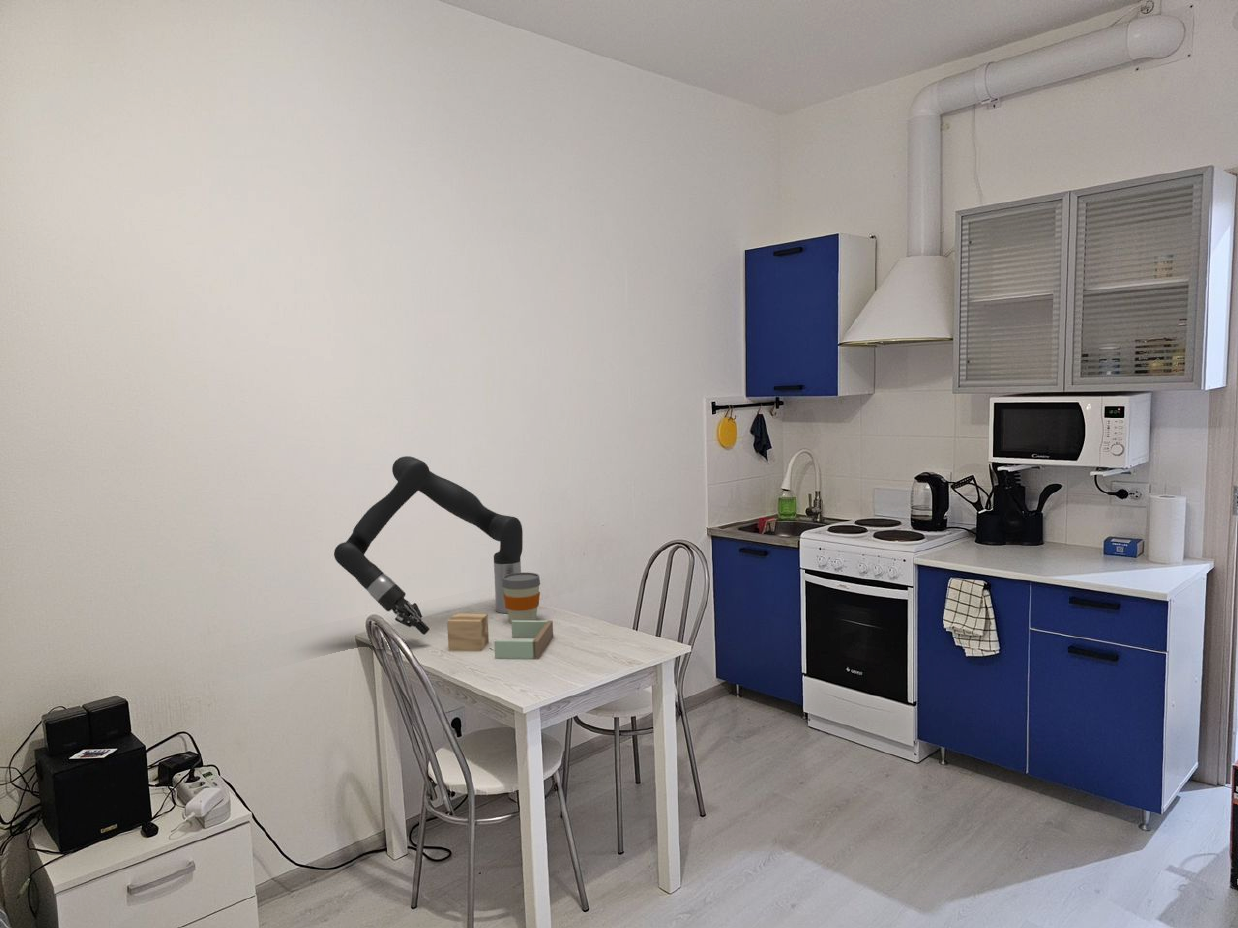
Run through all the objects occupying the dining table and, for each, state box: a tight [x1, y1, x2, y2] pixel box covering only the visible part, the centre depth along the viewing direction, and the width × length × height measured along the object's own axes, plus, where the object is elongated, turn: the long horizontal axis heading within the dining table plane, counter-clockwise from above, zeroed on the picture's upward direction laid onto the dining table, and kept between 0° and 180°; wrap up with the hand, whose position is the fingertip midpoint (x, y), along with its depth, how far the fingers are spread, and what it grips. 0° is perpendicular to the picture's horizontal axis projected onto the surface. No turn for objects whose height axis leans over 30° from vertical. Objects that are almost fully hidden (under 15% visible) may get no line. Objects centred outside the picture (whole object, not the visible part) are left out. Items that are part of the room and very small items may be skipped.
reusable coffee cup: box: [502, 572, 541, 624], centre depth 271 cm, size 13×13×15 cm
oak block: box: [446, 613, 490, 652], centre depth 246 cm, size 8×10×9 cm
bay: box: [493, 620, 554, 660], centre depth 244 cm, size 21×13×5 cm, turn 173°
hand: (426, 632), depth 247 cm, fingers closed
